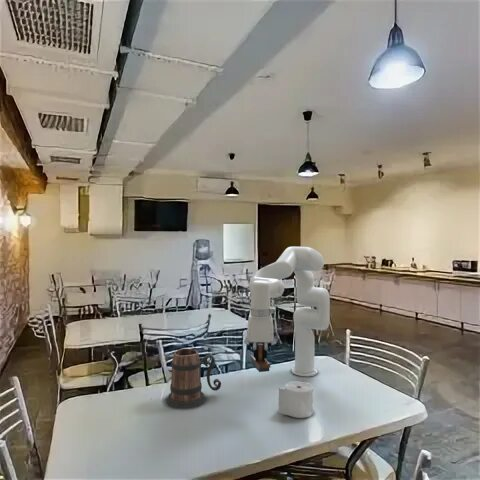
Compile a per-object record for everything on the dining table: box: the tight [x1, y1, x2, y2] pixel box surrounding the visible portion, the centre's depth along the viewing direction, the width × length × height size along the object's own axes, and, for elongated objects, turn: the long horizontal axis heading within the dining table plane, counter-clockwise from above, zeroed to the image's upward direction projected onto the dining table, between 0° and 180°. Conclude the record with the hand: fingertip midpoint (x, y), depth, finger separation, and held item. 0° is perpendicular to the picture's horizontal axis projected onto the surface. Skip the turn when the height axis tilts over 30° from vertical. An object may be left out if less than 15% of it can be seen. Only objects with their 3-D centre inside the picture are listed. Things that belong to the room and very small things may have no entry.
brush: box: [250, 343, 271, 373], centre depth 159 cm, size 11×4×9 cm, turn 16°
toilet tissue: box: [277, 380, 314, 419], centre depth 158 cm, size 11×12×10 cm
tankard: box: [165, 347, 222, 410], centre depth 170 cm, size 24×17×20 cm
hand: (260, 359), depth 160 cm, fingers closed on brush, 2 cm apart
